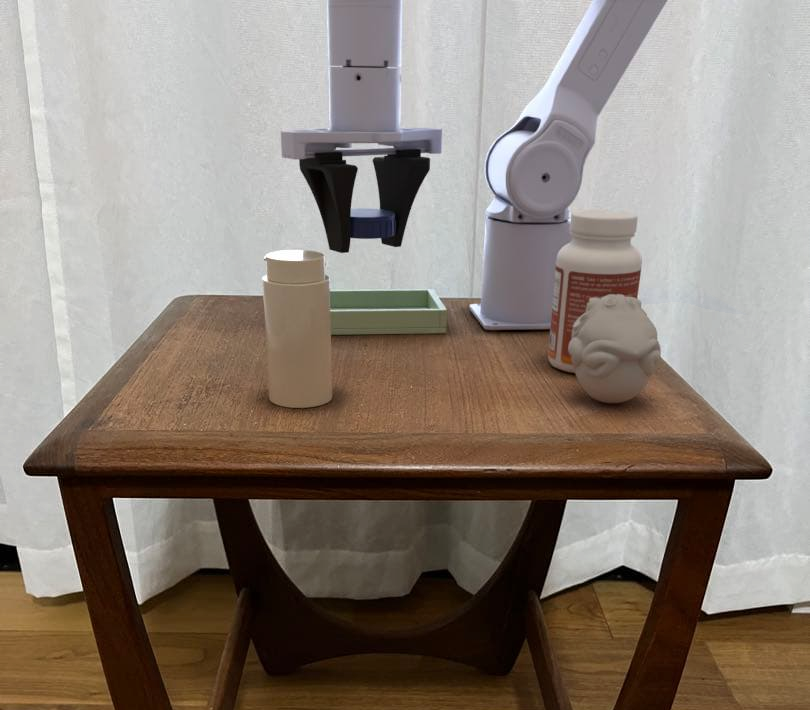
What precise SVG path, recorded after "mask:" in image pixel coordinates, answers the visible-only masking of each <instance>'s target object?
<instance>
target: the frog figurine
mask: <svg viewBox="0 0 810 710" xmlns="http://www.w3.org/2000/svg"><path fill="white" fill-rule="evenodd" d="M587 305H588V306H587V307H586V312H585V313H584V314H583V315H581V316H580V317H579V318H578V319H577V320H576V322H575V323H574V325H573V330H572V336H571V339H572V340H571V341H570V343H569V346H568V351H569V354H570V355H571V356H572V357H571V361H572V363H573V366H574V370H575V373H574V374H575V376H576V378H577V380H578V383H579V385H580V386H581V388H582V389H583V391H584V392H585V393H586V394H587V395H588V396H589V397H591V398H592V399H594V400H596V401H599V402H602V403H605V404H620V403H621V404H622V403H625V402H627V401H629V400H631V399H633V398H634V397H636V396H637V395H639V394H640V393H641V392H642V391H643V390H644V389H645V387H646V386H647V384H648V382H649V380H650V378H651V377H652V376H653V375H654V374H655V373H656V372H655V371H656V369H655V365H657V364H658V363H660V362H661V359H662V358H661V357H662V351H661V345H660V342H659V339H658V330H657V328H656V326H655V324H654V323H653V321H652V320H651V319H650V318H649V316H648V314H647V312H646V311H645V310H644V309H643V308H642V301H641V300H640V299H639V298H637V299H636V298H634V297H625V296H624V295H621V294H617V295H613V294H609V295H607V296H604V297H602V298H601V299H599V298H595V297H593V298H590V299H589V303H587Z"/></svg>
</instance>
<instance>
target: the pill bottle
mask: <svg viewBox="0 0 810 710" xmlns="http://www.w3.org/2000/svg"><path fill="white" fill-rule="evenodd" d="M570 218H571V220H570V227H569V230H570V232H569V233H570V234H571V235H572V241H571V242H570V243H568V244H566V245H565V246H563V247H562V248H561V250H560V251H559V253H558V255H557V260H556V270H555V281H554V293H553V305H552V316H551V328H550V329H549V330H550V331H549V340H548V341H549V342H548V353H547V358H548V359H547V360H548V362H549V363H550V365H551V366H552V367H554V368H555V369H558V370H560V371H563V372H567V373H572V374H576V373H575V370H574V366H573V363H572V361H571V357H572V356H571V355H570V354H569V351H568V346H569V343H570V341H571V340H572V339H571V336H572V330H573V325H574V323H575V322H576V320H577V319H578V318H579V317H580V316H581V315H583V314H584V313H585V312H586V307H587V306H588V305H587V303H589V299H590V298H593V297H595V298H599V299H601V298H602V297H604V296H607V295H609V294H613V295H617V294H621V295H624V296H625V297H634V298H636V299H638V295H639V290H640V282H641V274H642V266H643V265H642V264H643V258H642V255H641V252H640V251H639V250H638V249H637V248H636V247H635V246H633V245H632V238H635V236H636V233H637V228H638V218H639V217H638V214H636V213H633V212H630V211H625V210H623V211H622V210H615V209H614V210H612V209H611V210H610V209H582V210H576V211H575V210H574V211H571V214H570Z"/></svg>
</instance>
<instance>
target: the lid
mask: <svg viewBox="0 0 810 710" xmlns="http://www.w3.org/2000/svg"><path fill="white" fill-rule="evenodd" d="M395 233H396V219H395V213H394V212H392V211H389V210H382V209H380V208H351V239H358V240H359V239H360V240H376V239H381V238H386V237H391V236H393V235H395Z"/></svg>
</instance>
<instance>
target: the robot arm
mask: <svg viewBox="0 0 810 710" xmlns="http://www.w3.org/2000/svg"><path fill="white" fill-rule="evenodd" d="M667 3H668V0H592V1H591V3H590V4H589V7H588V8H587V10H586V11H585V14H584V15H583V17H582V19H581V21H580V23H579V24H578V26H577V27H576V29H575V31H574V33H573V35H572V37H571V39H570V40H569V42H568V44H567V46H566V47H565V49H564V51H563V53H562V54H561V56H560V58H559V60H558V62H557V64H556V65H555V66H554V69H553V70H552V71H551V74H550V75H549V77H548V79H547V81H546V83H545V84H544V85H543V87H542V88H541V89H540V90H539V92H538V93H537V94H536V95H535V96H534V97H533V98H532V99H531V100H530V101H529V102H528V104H527V105H526V106H525V107H524V109H523V110H522V112H521V114H520V116H519V117H518V119H517V121H516V122H515V123H514V124H513V125H512V126H511V127H510V128H509V129H508V130H506V131H505V132H503V133H502V134H500V135H499V136H498V137H497V138H496V139H494V141H493V142H492V144H491V145H490V147H489V149H488V151H487V153H486V155H485V161H484V177H485V183H486V185H487V187H488V189H489V190H490V192H491V193H492V194H493V195H494V197H493V198H492V201H491V203H490V205H488V207H487V208H486V209H485V215H486V216H485V222H484V223H485V225H484V239H483V241H484V243H483V257H482V276H481V277H482V278H481V292H480V293H481V294H480V303H471V304H469V310H470V312H471V313H472V314H473V316H474V317H475V318H476V320H477V321H478V322H479V323H480V325H481V326H482V328H483V329H484V330H487V331H517V330H518V331H519V330H520V331H521V330H522V331H523V330H528V331H529V330H550V328H551V316H552V305H553V293H554V281H555V270H556V260H557V255H558V253H559V251H560V250H561V248H562V247H563V246H565V245H566V244H568V243H570V242H571V241H572V235H571V234H570V233H569V232H570V230H569V227H570V220H571V214H572V209H570V208H569V207H570V206H571V205H572V203H573V202H574V201H575V199H576V198H577V197H578V194H579V192H580V189H581V186H582V182H583V176H584V168H585V164H586V160H587V159H588V156H589V154H590V153H591V151H592V149H593V147H594V146H595V144H596V141H597V134H598V133H597V132H598V123H599V117H600V115H601V114H602V112H603V110H604V108H605V106H606V105H607V103H608V102H609V99H610V98H611V97H612V95H613V93H614V91H615V90H616V88H617V86H618V84H620V81H621V80H622V78H623V76H624V75H625V73H626V71H627V69H628V68H629V66H630V64H631V63H632V61H633V60H634V58H635V57H636V54H637V53H638V51H639V50H640V47H641V46H642V44H643V42H645V39H646V38H647V36H648V34H649V33H650V31H651V30H652V28H653V26H654V25H655V22H656V21H657V19H658V18H659V15H660V14H661V13H662V10H663V9H664V7H665V6H666V4H667ZM326 20H327V21H326V22H327V66H328V109H329V110H328V113H329V128H327V127H326V128H313V129H312V128H311V129H295V130H294V129H291V130H280V149H281V150H280V151H281V158H282V159H283V158H284V159H288V160H289V159H290V160H298V161H299V162H298V163H299V171H300V172H301V175H303V177H304V179H305V181H306V183H307V185H308V187H309V189H310V191H311V193H312V196H313V198H314V200H315V202H316V205H317V208H318V211H319V214H320V217H321V221H322V224H323V227H324V231H325V236H326V239H327V244H328V249H329V250H330V251H333V252H337V253H339V254H347V253H350V247H351V239H352V238H351V209H352V200H353V195H354V194H353V193H354V188H355V182H356V178H357V174H358V172H359V171H358V170H359V168H358V166H357V165H355V164H349V163H347V159H344V157H363V156H374V157H373V158H372V160H371V161H372V164H373V168H374V169H373V170H374V173H375V178H376V184H377V191H378V199H379V209H382V210H389V211H392V212H394V213H395V219H396V233H395V235H393V236H391V237H386V238H380V240H381V242H380V243H381V244H382V245H385V246H389V247H392V248H401V247H402V244H403V240H404V236H405V231H406V227H407V223H408V220H409V216H410V213H411V210H412V207H413V204H414V203H415V202H414V201H415V199H416V197H417V195H418V192H419V190H420V188H421V186H422V184H423V182H424V180H425V178H426V177H427V176H428V174H429V172H430V169H431V158H430V157H428V156H427V157H426V156H422V154H430V155H437V154H438V155H440V154H442V149H443V148H442V146H443V145H442V144H443V128H436V127H401V111H402V109H401V108H402V42H403V40H402V39H403V38H402V37H403V36H402V35H403V33H402V32H403V31H402V30H403V0H326ZM353 144H377V145H378V146H387V147H366V148H365V147H363V148H352V147H353ZM337 148H339V149H337Z"/></svg>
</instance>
